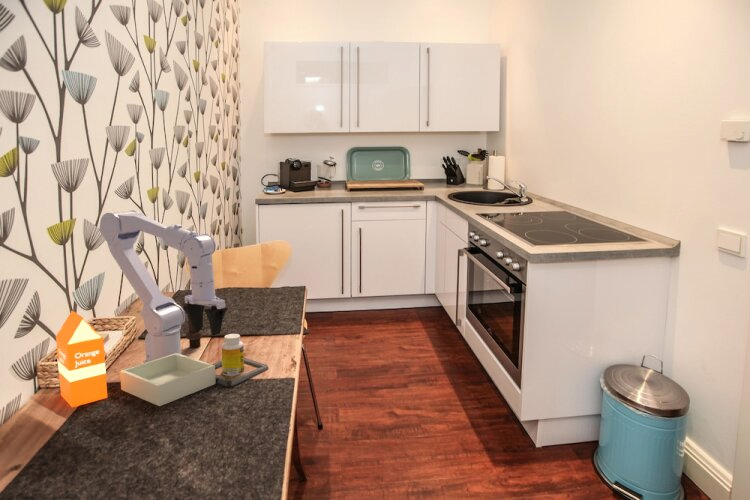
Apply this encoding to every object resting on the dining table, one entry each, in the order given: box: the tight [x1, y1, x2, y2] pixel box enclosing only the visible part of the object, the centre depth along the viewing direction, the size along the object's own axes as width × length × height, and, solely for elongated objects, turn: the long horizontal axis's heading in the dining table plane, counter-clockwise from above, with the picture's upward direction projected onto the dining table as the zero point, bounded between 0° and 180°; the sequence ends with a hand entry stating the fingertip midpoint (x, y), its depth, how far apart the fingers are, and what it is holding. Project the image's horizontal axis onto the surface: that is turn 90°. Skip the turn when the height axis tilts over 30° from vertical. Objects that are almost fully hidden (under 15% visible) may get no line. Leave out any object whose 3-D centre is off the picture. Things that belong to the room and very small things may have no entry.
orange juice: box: [55, 310, 108, 408], centre depth 123 cm, size 8×9×20 cm
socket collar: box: [211, 357, 270, 387], centre depth 139 cm, size 13×13×2 cm
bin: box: [119, 353, 217, 407], centre depth 130 cm, size 16×16×5 cm
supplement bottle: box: [220, 333, 245, 377], centre depth 139 cm, size 6×6×10 cm
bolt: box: [182, 299, 204, 349], centre depth 157 cm, size 6×5×15 cm
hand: (207, 332), depth 140 cm, fingers open, 7 cm apart
